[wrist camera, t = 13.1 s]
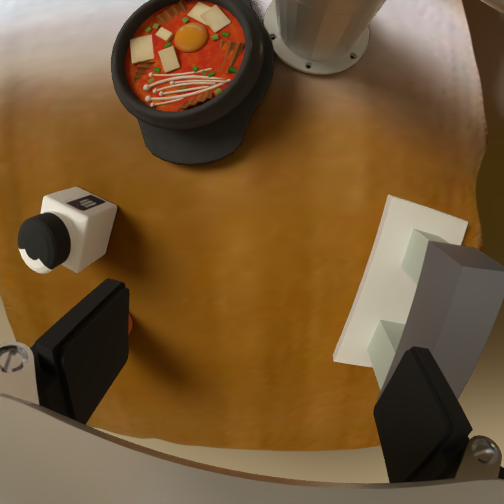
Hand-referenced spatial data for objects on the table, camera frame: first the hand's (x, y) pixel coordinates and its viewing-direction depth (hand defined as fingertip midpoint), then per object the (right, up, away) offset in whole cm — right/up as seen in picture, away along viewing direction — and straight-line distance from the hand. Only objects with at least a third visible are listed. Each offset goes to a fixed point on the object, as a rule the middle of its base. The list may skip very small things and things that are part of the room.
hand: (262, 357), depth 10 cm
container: (-23, +8, +32) cm, 40 cm away
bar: (+19, -5, +21) cm, 29 cm away
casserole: (-7, +26, +24) cm, 36 cm away
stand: (+20, -2, +31) cm, 37 cm away
